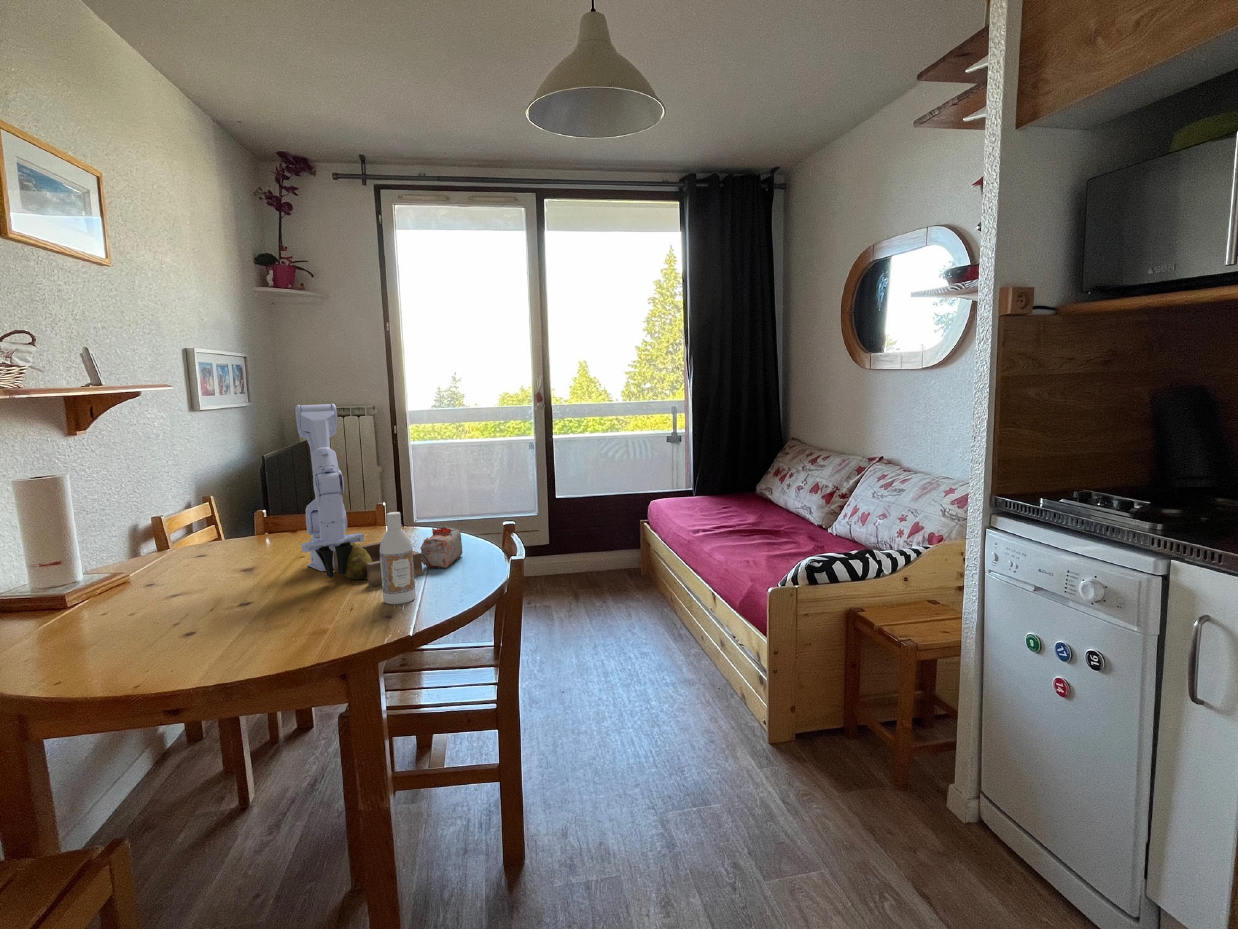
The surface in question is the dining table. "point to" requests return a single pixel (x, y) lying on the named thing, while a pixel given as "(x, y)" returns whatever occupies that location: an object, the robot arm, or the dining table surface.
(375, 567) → the cradle
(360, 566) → the potato
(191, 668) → the dining table surface
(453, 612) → the dining table surface
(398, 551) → the bath foam
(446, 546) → the food item
